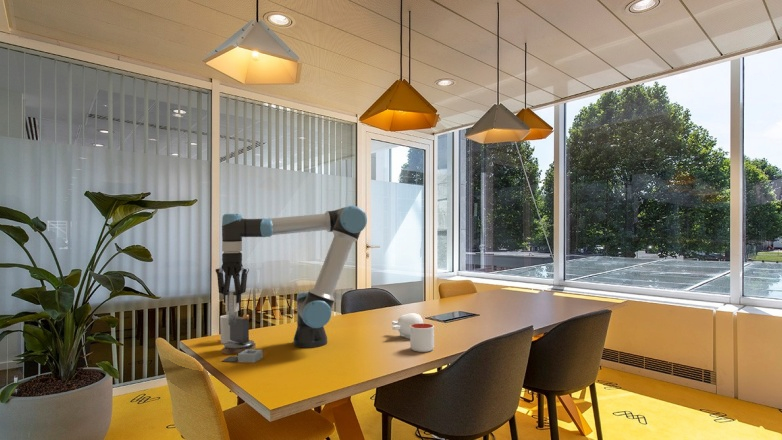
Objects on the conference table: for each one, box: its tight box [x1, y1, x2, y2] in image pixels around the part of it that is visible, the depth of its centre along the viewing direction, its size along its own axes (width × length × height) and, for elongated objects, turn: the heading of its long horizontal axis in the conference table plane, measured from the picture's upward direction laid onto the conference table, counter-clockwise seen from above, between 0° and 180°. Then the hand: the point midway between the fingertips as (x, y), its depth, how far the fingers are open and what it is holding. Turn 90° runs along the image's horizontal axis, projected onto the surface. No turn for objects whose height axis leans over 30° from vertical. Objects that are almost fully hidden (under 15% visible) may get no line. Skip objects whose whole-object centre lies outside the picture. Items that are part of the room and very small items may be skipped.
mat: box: [221, 355, 238, 363], centre depth 173 cm, size 6×6×1 cm
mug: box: [219, 314, 232, 345], centre depth 202 cm, size 10×7×12 cm, turn 25°
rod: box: [227, 290, 237, 325], centre depth 173 cm, size 3×3×13 cm
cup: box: [409, 322, 435, 353], centre depth 184 cm, size 10×10×10 cm
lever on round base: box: [223, 314, 255, 349], centre depth 187 cm, size 12×12×13 cm
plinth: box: [221, 342, 257, 355], centre depth 186 cm, size 10×10×2 cm
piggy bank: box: [391, 312, 424, 339], centre depth 205 cm, size 12×12×15 cm
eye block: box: [237, 349, 264, 363], centre depth 173 cm, size 7×7×3 cm
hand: (232, 311), depth 173 cm, fingers closed on rod, 3 cm apart
